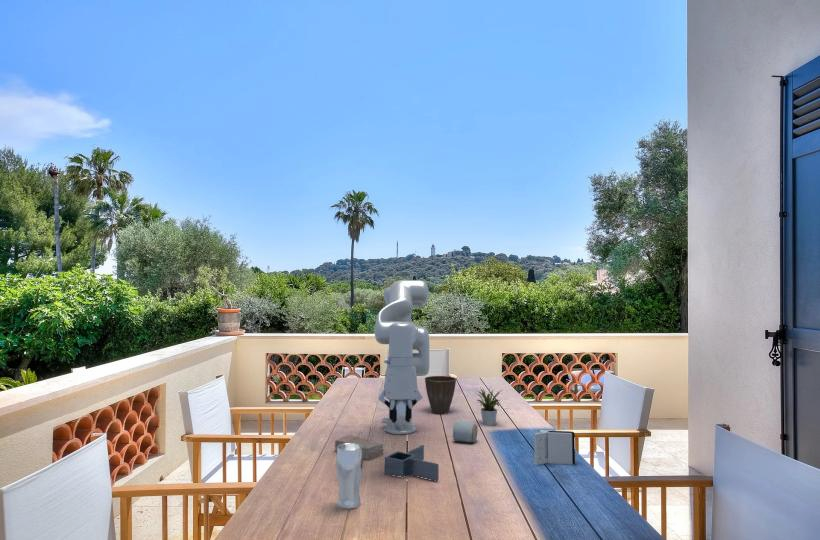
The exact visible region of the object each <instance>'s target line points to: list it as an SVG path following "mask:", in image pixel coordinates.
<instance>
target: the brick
mask: <svg viewBox="0 0 820 540" xmlns="http://www.w3.org/2000/svg"><path fill="white" fill-rule="evenodd" d="M345 443H357V444H360V445H362V456H363V460H367V461H371V460H374V459H377V458H379V457H380V458H381V457H382V456H384V451H385V450H384V443H382V442H378V441H375V440H367V439H366V438H363V437H362V438H361V437H360V436H357V435H354V434H348V435H344V436H342V437H339V438H338V439H335V440H334V449H335V452H337V447H338V446H339V445H341V444H345Z"/></svg>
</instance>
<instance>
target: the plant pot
mask: <svg viewBox="0 0 820 540" xmlns="http://www.w3.org/2000/svg"><path fill="white" fill-rule="evenodd" d="M456 382H457V378H456V377H453V376H447V375H431V376H430V375H429V376H426V377H425V378H424V383H425V388H426V389H425V391H426V395H427V399H428V402H429V406H430V409H431V412H432V413H433V414H436V415H445V413H446V414H448V413H449V411H450V408H451V405H452V402H453V398H454V396H455V395H454V394H455V389H456V384H457V383H456Z"/></svg>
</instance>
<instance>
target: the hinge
mask: <svg viewBox="0 0 820 540" xmlns="http://www.w3.org/2000/svg"><path fill="white" fill-rule="evenodd" d="M575 440H576V436H575V432H574V431H572V430H559V429H558V430H555V429H547V430H546V429H540V430H539V432H536V433H535V432H534V434H533V441H534V442H533V443H534V445H533V447H534V450H533V454H534V465H535V466H538V465H543V464H551V465H552V464H553V465H554V464H556V465H568V466H569V465H570V466H571V465H576V452H575V451H576V441H575Z"/></svg>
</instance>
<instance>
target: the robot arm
mask: <svg viewBox="0 0 820 540" xmlns="http://www.w3.org/2000/svg"><path fill="white" fill-rule="evenodd" d="M429 293H430V292H429V287H428V284H427V282H426V281H425V280H420V279H400V280H396V281H393V282H392V283H391V285H390V286H388V287H385V288H384V291H383V298H384V302H385V306H384V307H383V308H381V309H380V311H379V312H378V313H377V315H376V319H375V324H374V325H375V326H374V338H375V341H376V342H377V343H378V344H381V345H388V356H387V358H384V359H383V364H386V369H385V376H384V383H383V384H384V386H383V390H382V391H381V393H380V395H379V396H378V398H377V399H378V401H379V402H381V403H383V404H385V406H387V408H388V417H382V420H381V423H382V424H386V426H385V427H384V431H385V432H386V433H387V434H392V435H409V434H412V433H415V432H416V431H417V430H416V429H417V427H416V426H415V425H413V407H414V406H415V405H416V404H417V403H418V402H420V401H421V400H422V399H423V396H422V394H421V393H420V391H419V389H418V377H424V376H427V375H428V374H429V371H430V334H429V330H428V329H427V328H426V327H425V326H417V324H415V323H414V322H413V321H412V313H413V310H414V309H413V308H423V307H425V306H426V305H427V302H428V300H429V297H430V296H429V295H430V294H429ZM414 350H415V351H418V352H414ZM395 400H407V429H405V430H396V429H394V423H395V409H394V403H395Z"/></svg>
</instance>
